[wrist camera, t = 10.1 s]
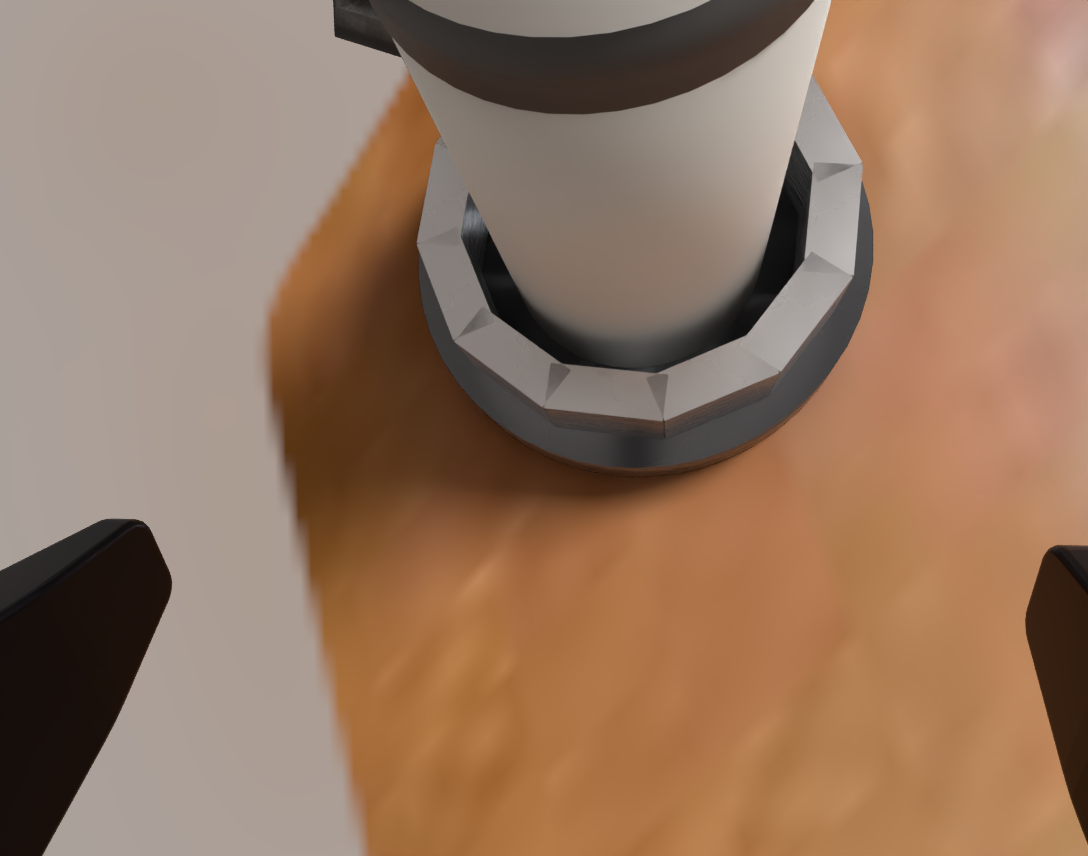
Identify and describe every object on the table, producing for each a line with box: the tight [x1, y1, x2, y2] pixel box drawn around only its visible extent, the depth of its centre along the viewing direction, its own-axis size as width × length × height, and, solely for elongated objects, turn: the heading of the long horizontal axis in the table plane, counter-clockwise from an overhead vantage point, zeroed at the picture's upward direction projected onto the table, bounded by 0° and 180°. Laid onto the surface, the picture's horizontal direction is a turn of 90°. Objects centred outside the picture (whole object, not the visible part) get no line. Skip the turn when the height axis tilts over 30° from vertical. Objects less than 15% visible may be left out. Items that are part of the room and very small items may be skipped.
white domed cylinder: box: [369, 0, 831, 368], centre depth 14 cm, size 6×6×12 cm
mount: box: [417, 75, 873, 477], centre depth 19 cm, size 11×11×4 cm
